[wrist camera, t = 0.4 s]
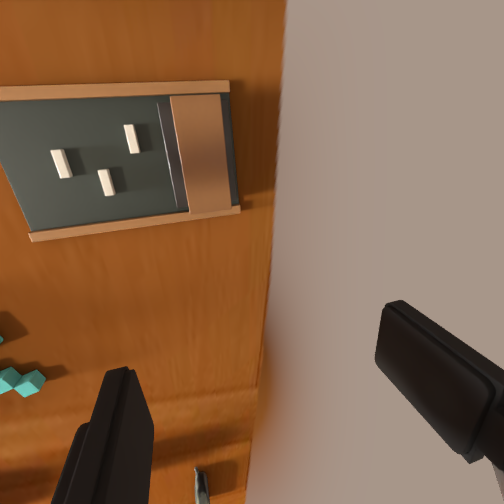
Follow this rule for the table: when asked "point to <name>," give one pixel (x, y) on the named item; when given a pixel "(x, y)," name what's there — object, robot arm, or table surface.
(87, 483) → the robot arm
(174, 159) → the eraser
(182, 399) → the table surface
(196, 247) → the table surface
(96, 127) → the slate board
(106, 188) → the chalk stub
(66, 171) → the chalk stub
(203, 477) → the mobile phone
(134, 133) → the chalk stub
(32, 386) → the alien figure
